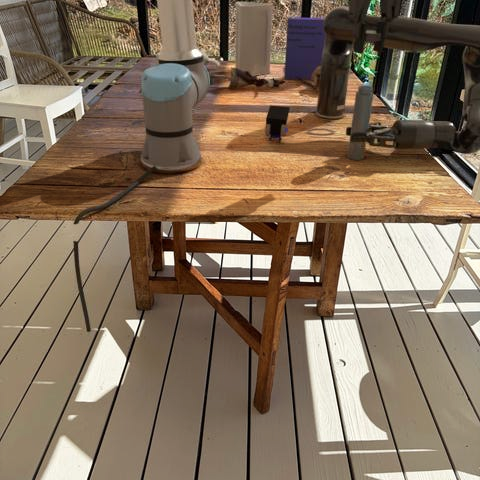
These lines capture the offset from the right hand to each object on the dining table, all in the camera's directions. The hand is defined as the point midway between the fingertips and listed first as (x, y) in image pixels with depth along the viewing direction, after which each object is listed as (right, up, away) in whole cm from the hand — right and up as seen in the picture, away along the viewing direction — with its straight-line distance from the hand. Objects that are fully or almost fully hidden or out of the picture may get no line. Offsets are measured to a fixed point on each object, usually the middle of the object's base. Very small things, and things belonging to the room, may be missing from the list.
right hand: (348, 134), depth 125 cm
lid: (+2, +20, -14) cm, 25 cm away
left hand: (+2, +17, -12) cm, 21 cm away
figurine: (-26, +33, +67) cm, 79 cm away
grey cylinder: (+3, -5, +3) cm, 7 cm away
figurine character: (-18, +3, +16) cm, 24 cm away
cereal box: (0, +43, +83) cm, 93 cm away
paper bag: (-22, +49, +92) cm, 107 cm away
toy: (-53, +53, +99) cm, 124 cm away
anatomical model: (+4, +33, +67) cm, 74 cm away
